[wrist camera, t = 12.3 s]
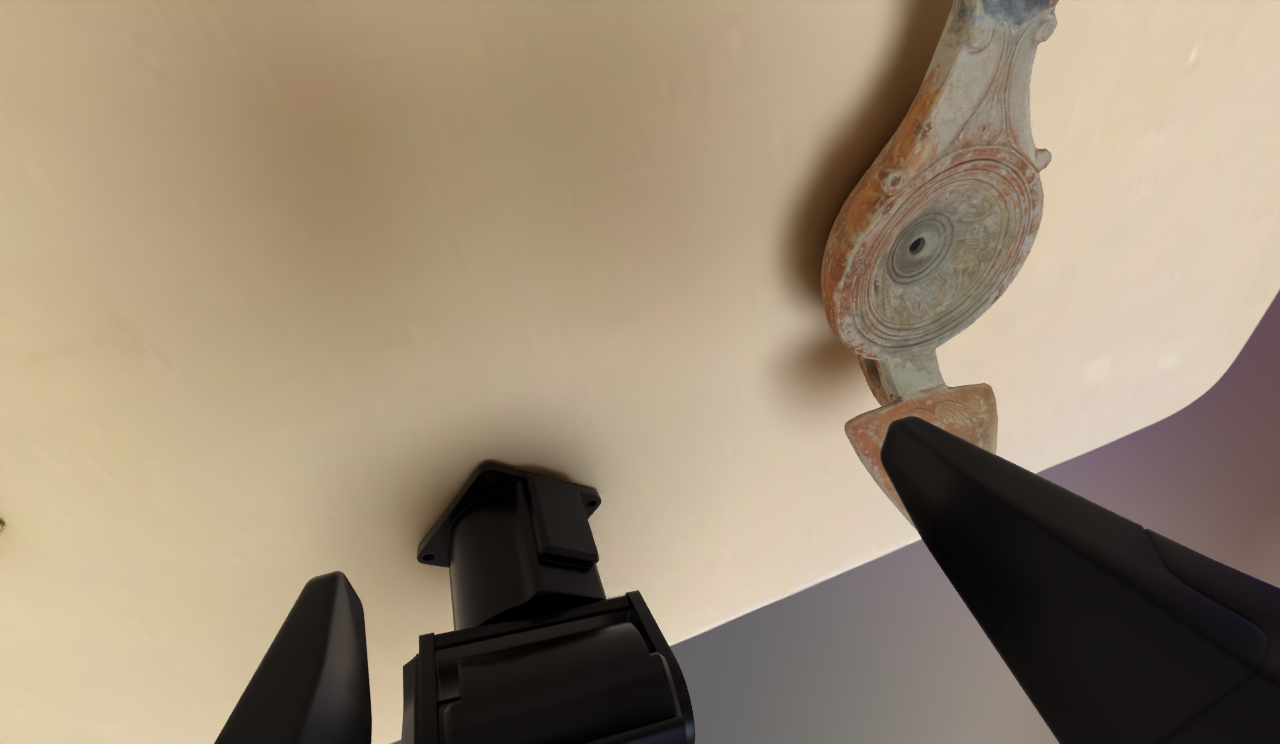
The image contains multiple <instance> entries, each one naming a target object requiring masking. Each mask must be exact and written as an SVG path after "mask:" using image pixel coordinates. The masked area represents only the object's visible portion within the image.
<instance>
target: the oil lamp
mask: <svg viewBox="0 0 1280 744" xmlns="http://www.w3.org/2000/svg"><path fill="white" fill-rule="evenodd" d="M1058 1H1059V0H954V1H953V4H952V7H951V10H950V13H949V16H948V19H947V22H946V25H945V28H944V31H943V33H942V35H941V38H940V40H939V43H938V45H937V48H936V50H935V53H934V55H933V58H932V60H931V63H930V65H929V68H928V71H927V73H926V75H925V78H924V80H923V82H922V85H921V87H920V89H919V91H918V93H917V95H916V97H915V99H914V101H913V102H912V104H911V106H910V108H909V110H908V112H907V114H906V116H905V117H904V119H903V121H902V122H901V124H900V125H899V127H898V129H897V130H896V132H895V133H894V135H893V136H892V137H891V139H890V140H889V142H888V143H887V144H886V146H885V147H884V148H883V150H882V151H881V152H880V154H879V155H878V157H877V158H876V159H875V161H874V162H873V163H872V165H871V166H870V167H869V169H868V170H867V171H866V173H865V174H864V175H863V177H862V178H861V180H860V181H859V182H858V184H857V185H856V186H855V188H854V189H853V190H852V192H851V193H850V195H849V196H848V198H847V200H846V201H845V203H844V204H843V206H842V208H841V210H840V212H839V214H838V216H837V218H836V220H835V222H834V224H833V226H832V229H831V232H830V234H829V237H828V241H827V244H826V248H825V251H824V257H823V262H822V271H821V288H822V296H823V302H824V306H825V311H826V316H827V320H828V322H829V325H830V327H831V328H832V330H833V332H834V334H835V335H836V337H837V338H838V339H839V340H840V341H841V342H842V343H843V345H845V346H846V347H847V348H848V349H850V350H851V351H852V352H854V353H856V354H858V359H859V363H860V366H861V369H862V371H863V374H864V376H865V378H866V381H867V383H868V386H869V388H870V390H871V391H872V393H873V395H874V397H875V398H876V400H877V401H878V403H879V404H880V405H881V406H882V407H880V408H877V409H874V410H872V411H869V412H866V413H863V414H860V415H858V416H856V417H855V418H853V419H851V420H849V421H848V422H846V423H845V433H846V435H847V437H848V439H849V440H850V442H851V444H852V446H853V448H854V450H855V452H856V454H857V455H858V457H859V459H860V460H861V462H862V463H863V465H864V466H865V468H866V469H867V470H868V472H869V473H870V475H871V476H872V477H873V479H874V480H875V481H876V483H877V484H878V486H879V487H880V488H881V489H882V491H883V492H884V493H885V494H886V495H887V497H888V498H889V499H890V500H891V501H892V502H893V504H894V505H895V506H896V507H897V508H898V510H899V511H900V512H901V513H902V514H903V515H904V517H905V518H906V519H907V520H908V521H909V522H910V524H911V525H912V526H913V527H914V528H915V526H914V524H913V522H912V520H911V518H910V516H909V515H908V513H907V511H906V509H905V507H904V505H903V503H902V501H901V500H900V498H899V496H898V494H897V492H896V490H895V488H894V487H893V485H892V483H891V481H890V479H889V477H888V475H887V473H886V472H885V470H884V468H883V466H882V463H881V460H880V450H881V447H882V444H883V441H884V438H885V435H886V433H887V430H888V427H889V425H890V423H891V422H892V421H894V420H897V419H901V418H905V417H908V416H916V417H919V418H921V419H923V420H925V421H927V422H929V423H931V424H933V425H935V426H938V427H940V428H942V429H944V430H946V431H948V432H950V433H952V434H954V435H956V436H958V437H960V438H962V439H964V440H966V441H968V442H970V443H972V444H975V445H977V446H979V447H981V448H983V449H985V450H987V451H989V452H991V453H993V454H995V455H996V446H997V426H998V416H997V406H996V399H995V396H994V393H993V390H992V387H991V386H990V385H988V384H986V383H982V384H975V385H964V386H958V387H948V386H947V385H945V382H944V380H943V378H942V376H941V373H940V370H939V366H938V361H937V356H936V348H937V347H939V346H940V345H942V344H943V343H945V342H946V341H948V340H950V339H951V338H953V337H954V336H956V335H957V334H959V333H960V332H962V331H963V330H965V329H966V328H967V327H969V326H970V325H971V324H972V323H973V322H975V321H976V320H977V319H978V318H979V317H980V316H981V315H982V314H983V313H984V312H985V311H987V310H988V309H989V308H990V307H991V306H992V305H993V304H994V303H995V302H996V301H997V300H998V299H999V297H1000V296H1001V295H1002V294H1003V293H1004V292H1005V290H1006V289H1007V288H1008V286H1009V285H1010V284H1011V282H1012V281H1013V280H1014V278H1015V277H1016V275H1017V274H1018V272H1019V271H1020V269H1021V268H1022V266H1023V264H1024V262H1025V261H1026V259H1027V257H1028V255H1029V253H1030V251H1031V248H1032V246H1033V243H1034V241H1035V238H1036V235H1037V233H1038V230H1039V227H1040V223H1041V219H1042V214H1043V197H1044V195H1043V188H1042V184H1041V179H1040V175H1039V172H1040V171H1041V170H1042V169H1044V168H1046V167H1047V165H1048V164H1049V163H1050V161H1051V157H1052V156H1051V152H1049V151H1048V150H1047V149H1037V148H1035V144H1034V141H1033V137H1032V133H1031V124H1030V80H1031V72H1032V65H1033V61H1034V58H1035V54H1036V50H1037V46H1038V45H1039V43H1041V42H1044V41H1046V40H1047V39H1048V38H1049V37H1050V36H1051V35H1052V34H1053V32H1054V30H1055V28H1056V25H1057V20H1056V16H1055V12H1054V11H1055V5H1056V4H1057V3H1058ZM915 529H916V528H915ZM916 530H917V529H916Z"/></svg>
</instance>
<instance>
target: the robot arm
mask: <svg viewBox="0 0 1280 744" xmlns="http://www.w3.org/2000/svg"><path fill="white" fill-rule="evenodd" d="M880 460H881V463H882V466H883V468H884V470H885V472H886V473H887V475H888V477H889V479H890V481H891V483H892V485H893V487H894V488H895V490H896V492H897V494H898V496H899V498H900V500H901V501H902V503H903V505H904V507H905V509H906V511H907V513H908V515H909V516H910V518H911V520H912V522H913V524H914V526H915V528H916V529H917V531H918V533H919V535H920V536H921V538H922V540H923V541H924V543H925V544H926V546H927V548H928V549H929V551H930V552H931V554H932V555H933V557H934V558H935V560H936V561H937V563H938V564H939V565H940V567H941V569H942V570H943V572H944V573H945V574H946V576H947V577H948V579H949V580H950V582H951V583H952V585H953V586H954V588H955V589H956V591H957V592H958V594H959V595H960V597H961V598H962V600H963V601H964V603H965V604H966V605H967V607H968V608H969V610H970V612H971V613H972V615H973V616H974V617H975V619H976V620H977V622H978V623H979V625H980V626H981V628H982V629H983V631H984V632H985V634H986V635H987V637H988V638H989V640H990V641H991V643H992V644H993V646H994V647H995V649H996V650H997V652H998V653H999V654H1000V656H1001V658H1002V659H1003V660H1004V662H1005V663H1006V665H1007V666H1008V668H1009V669H1010V671H1011V672H1012V674H1013V675H1014V676H1015V678H1016V680H1017V681H1018V683H1019V684H1020V686H1021V687H1022V689H1023V690H1024V692H1025V693H1026V695H1027V696H1028V698H1029V699H1030V701H1031V702H1032V703H1033V705H1034V706H1035V708H1036V709H1037V711H1038V712H1039V714H1040V715H1041V717H1042V718H1043V720H1044V721H1045V723H1046V724H1047V726H1048V727H1049V729H1050V730H1051V732H1052V733H1053V735H1054V736H1055V738H1056V739H1057V741H1058V742H1059V744H1280V588H1278V587H1275V586H1273V585H1270V584H1268V583H1266V582H1263V581H1261V580H1259V579H1256V578H1254V577H1251V576H1249V575H1247V574H1245V573H1242V572H1240V571H1238V570H1236V569H1233V568H1231V567H1229V566H1226V565H1224V564H1222V563H1220V562H1217V561H1215V560H1213V559H1211V558H1209V557H1206V556H1204V555H1202V554H1200V553H1198V552H1195V551H1194V550H1191V549H1189V548H1187V547H1185V546H1183V545H1181V544H1179V543H1177V542H1174V541H1172V540H1170V539H1168V538H1166V537H1164V536H1162V535H1160V534H1158V533H1156V532H1154V531H1152V530H1150V529H1144V528H1143V527H1142V526H1141V525H1139V524H1137V523H1135V522H1133V521H1131V520H1129V519H1127V518H1125V517H1123V516H1121V515H1119V514H1116V513H1114V512H1112V511H1110V510H1108V509H1106V508H1104V507H1102V506H1100V505H1098V504H1096V503H1094V502H1092V501H1090V500H1088V499H1085V498H1084V497H1081V496H1079V495H1077V494H1075V493H1073V492H1071V491H1069V490H1067V489H1065V488H1063V487H1061V486H1059V485H1057V484H1055V483H1053V482H1051V481H1048V480H1047V479H1044V478H1042V477H1040V476H1038V475H1036V474H1034V473H1032V472H1030V471H1028V470H1026V469H1024V468H1022V467H1020V466H1018V465H1016V464H1014V463H1012V462H1010V461H1007V460H1005V459H1003V458H1001V457H999V456H997V455H995V454H993V453H991V452H989V451H987V450H985V449H983V448H981V447H979V446H977V445H975V444H972V443H970V442H968V441H966V440H964V439H962V438H960V437H958V436H956V435H954V434H952V433H950V432H948V431H946V430H944V429H942V428H940V427H938V426H935V425H933V424H931V423H929V422H927V421H925V420H923V419H921V418H919V417H916V416H908V417H905V418H901V419H897V420H894V421H892V422H891V423H890V425H889V427H888V430H887V433H886V435H885V438H884V441H883V444H882V447H881V450H880ZM489 473H492V474H489ZM486 474H489V475H486ZM600 504H601V498H600V495H599V493H598V492H597V491H595V490H592V489H588V488H584V487H581V486H577V485H573V484H569V483H566V482H562V481H558V480H555V479H551V478H547V477H544V476H540V475H536V474H533V473H529V472H525V471H522V470H518V469H514V468H511V467H507V466H503V465H500V464H496V463H490V462H489V463H484V464H482V465H480V466H479V467H478V468H477V469H476V471H475V472H474V474H473V475H472V476H471V478H470V479H469V480H468V482H467V483H466V484H465V486H464V487H463V488H462V490H461V491H460V492H459V494H458V495H457V496H456V498H455V499H454V500H453V502H452V503H451V505H450V506H449V507H448V509H447V510H446V511H445V513H444V514H443V515H442V517H441V518H440V519H439V521H438V522H437V523H436V525H435V526H434V527H433V529H432V530H431V531H430V533H429V534H428V536H427V537H426V538H425V540H424V541H423V542H422V544H421V545H420V546H419V548H418V550H417V559H418V561H419V562H420V563H423V564H428V565H435V566H441V567H448V568H449V575H450V586H451V598H452V610H453V621H454V631H451V632H447V633H442V634H437V635H434V633H430V634H425V635H420V636H419V654H416V656H415V657H414V658H413V659H412V660H411V661H409V662H408V663H407V664H405V665H404V666H403V700H404V704H403V725H402V739H401V744H695V726H694V718H693V710H692V706H691V701H690V697H689V693H688V689H687V685H686V682H685V679H684V677H683V674H682V671H681V669H680V667H679V665H678V662H677V660H676V658H675V656H674V655H673V653H672V651H671V649H670V647H669V645H668V644H667V642H666V640H665V638H664V636H663V634H662V632H661V631H660V629H659V627H658V625H657V623H656V621H655V620H654V618H653V616H652V614H651V612H650V610H649V608H648V607H647V605H646V603H645V601H644V599H643V597H642V596H641V594H640V592H639V591H638V590H637V591H633V592H628V593H626V594H625V595H624V596H619V597H615V598H610V599H606V596H605V593H604V589H603V586H602V583H601V579H600V576H599V573H598V569H597V566H596V563H597V562H598V561H599V555H598V551H597V548H596V545H595V542H594V538H593V535H592V532H591V529H590V526H589V522H588V518H589V517H590V516H591V515H592V514H593V512H594V511H595V510H596V509H597V508H598V507H599V505H600ZM371 734H372V715H371V699H370V686H369V673H368V660H367V646H366V633H365V620H364V611H363V606H362V603H361V600H360V599H359V597H358V595H357V594H356V592H355V590H354V589H353V587H352V586H351V584H350V582H349V581H348V579H347V578H346V576H345V575H344V574H343V573H342V572H340V571H335V572H331V573H328V574H324V575H320V576H317V577H314V578H312V579H311V580H309V581H308V582H307V584H306V585H305V587H304V588H303V590H302V592H301V594H300V595H299V597H298V599H297V601H296V602H295V604H294V606H293V608H292V609H291V611H290V613H289V614H288V616H287V618H286V620H285V621H284V623H283V625H282V627H281V628H280V630H279V632H278V634H277V635H276V637H275V639H274V641H273V642H272V644H271V646H270V647H269V649H268V651H267V653H266V654H265V656H264V658H263V660H262V661H261V663H260V665H259V667H258V668H257V670H256V672H255V674H254V675H253V677H252V679H251V680H250V682H249V684H248V686H247V687H246V689H245V691H244V693H243V694H242V696H241V698H240V700H239V701H238V703H237V705H236V707H235V708H234V710H233V712H232V713H231V715H230V717H229V719H228V720H227V722H226V724H225V726H224V727H223V729H222V731H221V733H220V734H219V736H218V738H217V740H216V741H215V743H214V744H371Z"/></svg>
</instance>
